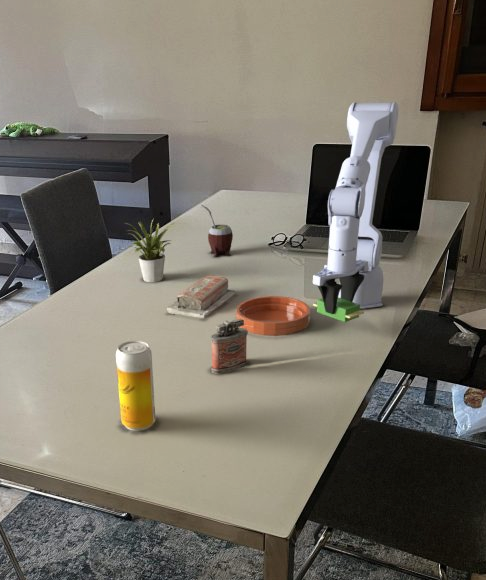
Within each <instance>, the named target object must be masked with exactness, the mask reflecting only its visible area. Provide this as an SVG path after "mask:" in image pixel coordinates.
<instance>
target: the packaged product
mask: <svg viewBox="0 0 486 580" xmlns="http://www.w3.org/2000/svg"><path fill="white" fill-rule="evenodd" d="M228 288H229V279H228V278H226V277H224V276H220V275H219V276H218V275H210V274H208V275H205V276H203V277H202V278H201V279H199V280H198V281H196V282H195V283H193V284H191V286H189V287H188V288H186V289H185V290H183V291H182V292H180V293H179V294H178V295H177V296H176V301H174V302H173V303H172V304H170V305H168V306H167V307H166V308H167V314H171V315H172V314H173V315H176V314H177V315H182V316H183V315H184V316H189V317H193V318H194V317H195V318H201V319H202V318H203V319H204V318H206V317H207V316H209V314H211V313H212V312H213V311H215V310H216V309H218V307H219V306H221V305H223V304H224V303H225V302H227V300H228V299H230V298H231V297H232V296H234V295H235V294H236V293H237V291H236V289H235V290H234V289H228Z"/></svg>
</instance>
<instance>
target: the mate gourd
mask: <svg viewBox="0 0 486 580" xmlns="http://www.w3.org/2000/svg"><path fill="white" fill-rule="evenodd" d="M200 206H201V207H202V208H204V209H205V210H206V211H207V214H208V215H209V217H210V220H211V224H212V226H211V227H210V228H209V230H208V235H207V241H208V244H209V246H210V250H211V251H210V254H212V255H214V258H218V257H220V256H227V257H230V256H231V253H230V252H231V248H232V244H233V237H234V234H233V230H232V227H231V226H229V225H228V224H216V223H215V222H214V219H213V215H212V211H211V210H210V209H209V208H208V207H207V206H205V205H203V204H200Z"/></svg>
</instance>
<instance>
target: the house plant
mask: <svg viewBox="0 0 486 580" xmlns="http://www.w3.org/2000/svg"><path fill="white" fill-rule="evenodd" d="M153 222H154V219H152V220H151V223H150V226H152V224H153ZM125 224H126V225H129V226H131V227H132V228H133V230H130V229H129V230H127V229H126V232H128V231H129V232H130V231H131V232H134V233H135V234H136V235H135V234H133V233H127V235H132V236H133V237H134V238H135V239H136V240H135V241H132V243H131V244H133V246H132V245H130V246H128V247H129V248H130V247H131V248H135V250H134V254H136V253H138V252H140V253H141V254H140V255H139V256H138V261H139V267H140V271H141V275H142V279H143V281H144V282H147V283H158V282H161V281H162V280H163V279H164V269H165V260H166V255H165V247H166V246H167V245H171V244H172V243H171V241H173V240H171V239H170V240H166V239H165V240H162V237H163V236H164V235H165V234H166V232H167V231H168V230H169V228H170V227H172V226H173V225H174V224H175V222H172V223H171V224H169V225H167V227H165V228H164V229H163V231H161V232H160V233H159V229H160V223H159V222H157V223H156V225H157V226H156V225H154V226H153V227H150V229H149V233H148V232H147V230H146V228H145V226H144V224H143V223H142V222H141V221H140V220H139V221H138V225H139V227H140V228H141V232H142V233H143V236H144V238H145V239H144V238H143V236H142V235H141V234H140V233H139V230H138V229H137V228H136V227H135V226H134V225H132V224H130V223H127V222H125ZM154 227H156V228H155V233H154V236H152V235H153V231H154ZM137 236H138V237H139V238H140V239H141V241H142V242H143V244H144V245H143V244H142V242H141V241H140V239H139V238H138V237H137ZM161 240H162V241H161ZM164 243H165V244H164ZM161 252H162V253H161Z"/></svg>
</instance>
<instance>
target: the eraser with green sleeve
mask: <svg viewBox="0 0 486 580" xmlns="http://www.w3.org/2000/svg"><path fill="white" fill-rule="evenodd" d="M312 306H313V307H316V313H318V314H321V315H323V316H326V317H329V318H332V319H335V320H337V321H340V322H343V323H347V322H350V321H353V320H355V319H358V318H359V317H360V316H361V315H363V314H365V311H364V310H362V309H360V305H359V304H356V303H353V302H350V301H347V300H345V299H342V298H339V296H338V299H337V305H336V310H335V313H334V314H330V313H327V312H325V307H324V302H323V298H319V299H317V301H316V302H314V303H312Z"/></svg>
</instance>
